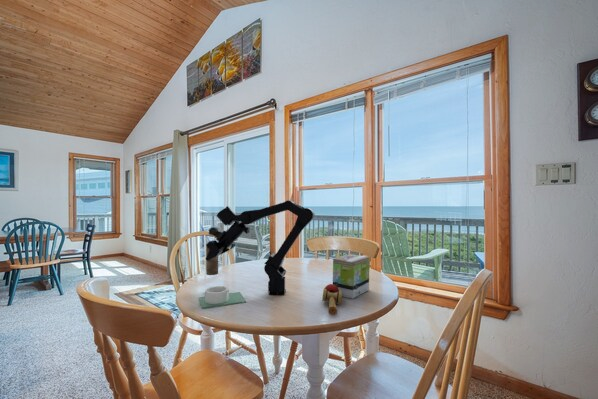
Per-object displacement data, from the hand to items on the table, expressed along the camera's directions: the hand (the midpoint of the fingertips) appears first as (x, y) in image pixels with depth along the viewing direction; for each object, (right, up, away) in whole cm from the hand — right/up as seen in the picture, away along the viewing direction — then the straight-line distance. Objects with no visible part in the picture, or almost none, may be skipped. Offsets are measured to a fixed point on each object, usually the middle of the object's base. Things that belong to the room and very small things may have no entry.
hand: (209, 258), depth 123 cm
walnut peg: (+1, -7, 0) cm, 7 cm away
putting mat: (+9, -13, -14) cm, 21 cm away
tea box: (+61, -13, -4) cm, 63 cm away
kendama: (+51, -14, -19) cm, 56 cm away
